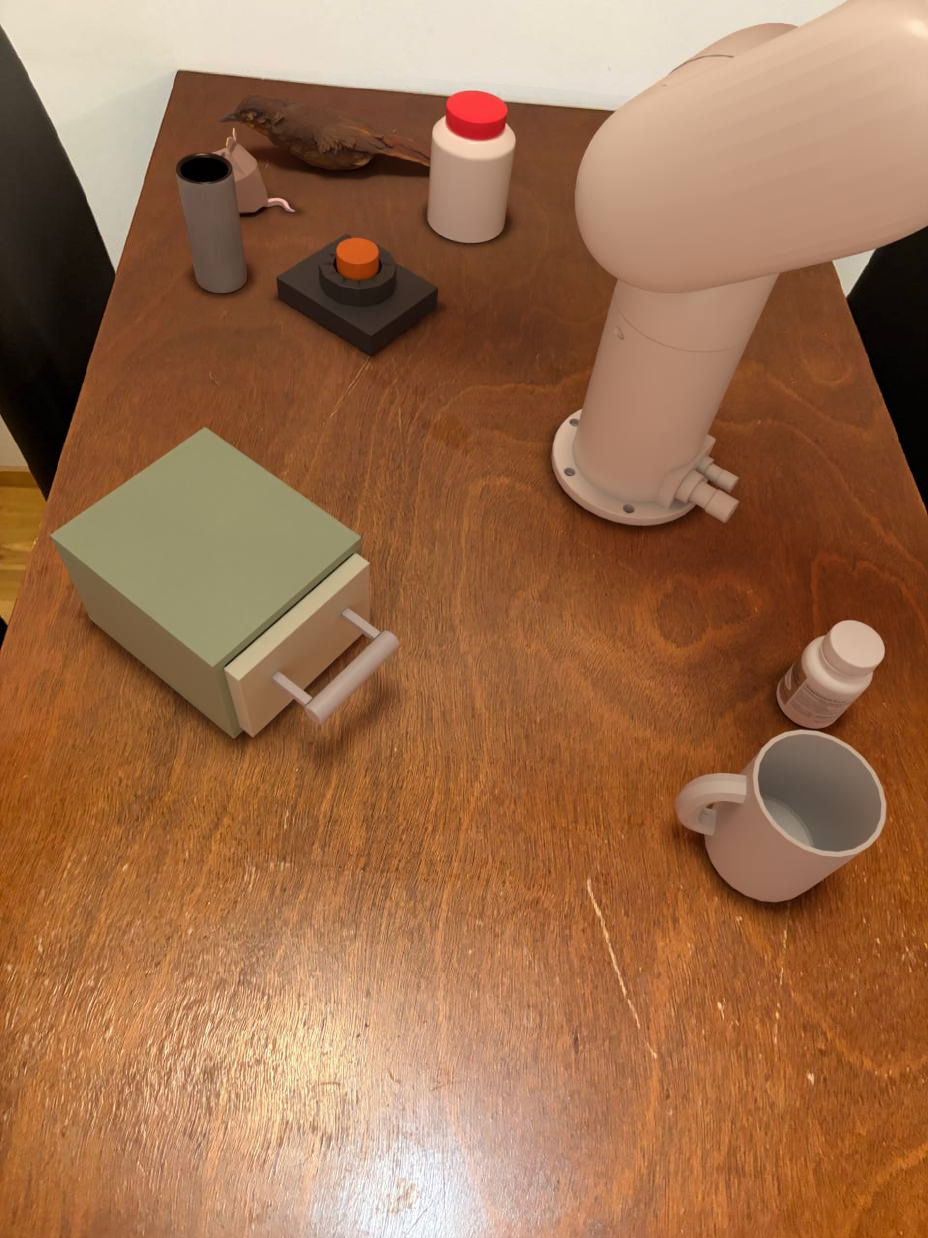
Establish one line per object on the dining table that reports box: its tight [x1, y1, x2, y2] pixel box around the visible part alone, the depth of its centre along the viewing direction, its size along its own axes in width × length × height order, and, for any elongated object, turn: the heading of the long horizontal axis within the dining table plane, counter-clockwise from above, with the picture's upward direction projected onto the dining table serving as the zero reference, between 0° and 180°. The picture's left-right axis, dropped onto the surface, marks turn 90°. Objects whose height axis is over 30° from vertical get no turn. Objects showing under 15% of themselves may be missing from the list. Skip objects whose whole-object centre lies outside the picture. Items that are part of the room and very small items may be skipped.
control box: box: [275, 233, 439, 357], centre depth 78 cm, size 11×9×4 cm
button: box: [336, 237, 379, 280], centre depth 76 cm, size 4×4×2 cm
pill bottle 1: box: [426, 90, 517, 244], centre depth 84 cm, size 8×8×11 cm
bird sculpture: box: [216, 94, 431, 171], centre depth 90 cm, size 7×25×5 cm, turn 92°
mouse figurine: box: [212, 127, 296, 215], centre depth 84 cm, size 5×8×7 cm, turn 80°
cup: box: [674, 729, 887, 903], centre depth 51 cm, size 7×10×9 cm
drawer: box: [224, 553, 401, 738], centre depth 56 cm, size 17×11×7 cm, turn 52°
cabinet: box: [49, 426, 363, 740], centre depth 57 cm, size 14×12×9 cm
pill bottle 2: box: [776, 619, 886, 729], centre depth 58 cm, size 4×4×8 cm
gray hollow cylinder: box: [174, 152, 248, 294], centre depth 76 cm, size 4×4×10 cm
